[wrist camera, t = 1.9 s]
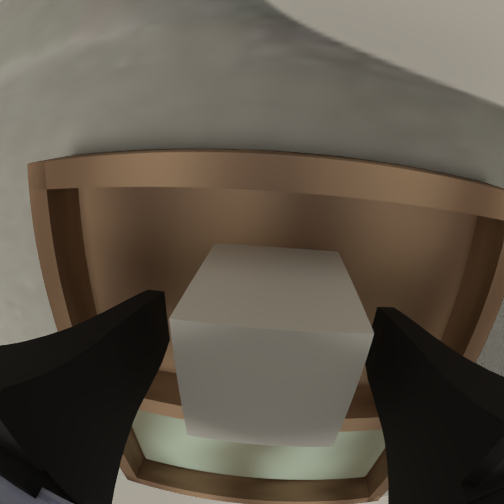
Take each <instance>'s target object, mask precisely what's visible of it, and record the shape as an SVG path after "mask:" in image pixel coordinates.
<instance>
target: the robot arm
mask: <svg viewBox="0 0 504 504" xmlns="http://www.w3.org/2000/svg"><path fill="white" fill-rule="evenodd" d="M372 329H373V332H374V336H373V339H372V343H371V346H370V349H369V352H368V356H367V359H366V362H365V366H366V372H367V378H368V382H369V385H370V389H371V392H372V395H373V399H374V402H375V406H376V409H377V413H378V416H379V420H380V423H381V427H382V431H383V436H384V441H385V449H386V458H387V470H388V492H389V504H504V377H503V376H500V375H498V374H496V373H494V372H491V371H489V370H487V369H485V368H483V367H481V366H479V365H478V364H476V363H474V362H472V361H471V360H469V359H467V358H465V357H464V356H462V355H460V354H459V353H457V352H456V351H454V350H453V349H451V348H450V347H448V346H447V345H445V344H444V343H442V342H441V341H440V340H438V339H437V338H436V337H434V336H433V335H431V334H430V333H429V332H427V331H426V330H425V329H423V328H422V327H421V326H420V325H418V324H417V323H416V322H414V321H413V320H412V319H410V318H409V317H408V316H406V315H405V314H403V313H402V312H400V311H399V310H397V309H396V308H394V307H377V310H376V313H375V317H374V321H373V324H372ZM169 341H170V336H169V328H168V320H167V311H166V302H165V291H156V290H146V291H144V292H141V293H139V294H137V295H135V296H133V297H131V298H129V299H127V300H125V301H124V302H122V303H120V304H118V305H116V306H114V307H112V308H110V309H108V310H106V311H105V312H103V313H100V314H98V315H96V316H94V317H92V318H90V319H88V320H86V321H84V322H82V323H79V324H77V325H75V326H72V327H70V328H67V329H64V330H62V331H59V332H56V333H53V334H50V335H47V336H43V337H39V338H36V339H32V340H28V341H24V342H20V343H14V344H9V345H2V346H0V504H112V499H113V493H114V488H115V483H116V479H117V475H118V471H119V466H120V462H121V459H122V456H123V452H124V449H125V445H126V442H127V439H128V436H129V433H130V430H131V427H132V424H133V421H134V419H135V416H136V414H137V412H138V410H139V408H140V406H141V404H142V402H143V400H144V398H145V396H146V394H147V392H148V390H149V388H150V386H151V384H152V382H153V380H154V378H155V376H156V374H157V372H158V370H159V368H160V366H161V364H162V362H163V359H164V356H165V353H166V350H167V347H168V344H169Z"/></svg>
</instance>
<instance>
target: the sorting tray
mask: <svg viewBox="0 0 504 504" xmlns="http://www.w3.org/2000/svg"><path fill="white" fill-rule="evenodd" d="M28 181H29V193H30V203H31V211H32V219H33V226H34V233H35V239H36V245H37V250H38V256H39V261H40V265H41V270H42V275H43V279H44V283H45V287H46V291H47V295H48V299H49V303H50V306H51V310H52V313H53V317H54V320H55V323H56V327H57V330H58V332H59V331H62V330H64V329H67V328H70V327H72V326H75V325H77V324H79V323H82V322H84V321H86V320H88V319H90V318H92V317H94V316H96V315H98V314H100V313H103V312H105V311H106V310H108V309H110V308H112V307H114V306H116V305H118V304H120V303H122V302H124V301H125V300H127V299H129V298H131V297H133V296H135V295H137V294H139V293H141V292H144V291H146V290H156V291H165V302H166V311H167V320H168V328H169V336H170V341H169V344H168V347H167V350H166V353H165V356H164V359H163V362H162V364H161V366H160V368H159V370H158V372H157V374H156V376H155V378H154V380H153V382H152V384H151V386H150V388H149V390H148V392H147V394H146V396H145V398H144V400H143V402H142V404H141V406H140V408H139V410H138V412H137V414H136V416H135V419H134V421H133V424H132V427H131V430H130V433H129V436H128V439H127V442H126V445H125V449H124V452H123V456H122V459H121V462H120V466H119V467H120V468H121V470H122V472H123V473H124V475H125V476H126V478H127V479H128V480H131V481H134V482H137V483H141V484H144V485H148V486H151V487H155V488H159V489H163V490H167V491H171V492H175V493H180V494H185V495H190V496H195V497H200V498H206V499H212V500H219V501H226V502H234V503H243V504H355V503H364V502H372V501H378V500H379V499H380V498H381V497H382V496H383V494H384V493H385V492H386V491H387V490H388V470H387V458H386V449H385V441H384V436H383V431H382V427H381V423H380V420H379V416H378V413H377V409H376V406H375V402H374V399H373V395H372V392H371V389H370V385H369V382H368V378H367V372H366V366H365V365H364V368H363V371H362V374H361V377H360V379H359V382H358V385H357V388H356V391H355V393H354V396H353V399H352V401H351V404H350V406H349V409H348V412H347V414H346V417H345V419H344V422H343V424H342V426H341V429H340V431H339V433H338V436H337V438H336V440H335V443H334V445H333V447H290V446H270V445H257V444H246V443H237V442H228V441H221V440H213V439H207V438H201V437H195V436H189V435H187V431H186V426H185V421H184V416H183V410H182V405H181V399H180V393H179V387H178V381H177V374H176V368H175V361H174V354H173V346H172V338H171V330H170V322H169V318H170V316H171V314H172V313H173V311H174V309H175V308H176V306H177V304H178V303H179V301H180V299H181V298H182V296H183V294H184V293H185V291H186V290H187V288H188V286H189V285H190V283H191V281H192V280H193V278H194V276H195V275H196V273H197V272H198V270H199V268H200V267H201V265H202V263H203V262H204V260H205V259H206V257H207V255H208V254H209V252H210V251H211V249H212V247H213V246H214V244H215V243H225V244H239V245H254V246H268V247H282V248H296V249H310V250H324V251H337V252H339V254H340V257H341V259H342V261H343V263H344V265H345V267H346V269H347V272H348V274H349V276H350V278H351V280H352V283H353V285H354V287H355V289H356V292H357V294H358V296H359V299H360V301H361V303H362V305H363V308H364V310H365V313H366V315H367V317H368V320H369V322H370V324H371V327H372V324H373V321H374V317H375V313H376V310H377V307H394V308H396V309H397V310H399V311H400V312H402V313H403V314H405V315H406V316H408V317H409V318H410V319H412V320H413V321H414V322H416V323H417V324H418V325H420V326H421V327H422V328H423V329H425V330H426V331H427V332H429V333H430V334H431V335H433V336H434V337H436V338H437V339H438V340H440V341H441V342H442V343H444V344H445V345H447V346H448V347H450V348H451V349H453V350H454V351H456V352H457V353H459V354H460V355H462V356H464V357H465V358H467V359H469V360H471V361H472V362H474V363H476V361H477V359H478V357H479V355H480V353H481V351H482V349H483V347H484V344H485V342H486V340H487V338H488V335H489V333H490V331H491V329H492V326H493V324H494V321H495V319H496V316H497V314H498V311H499V309H500V306H501V303H502V301H503V298H504V189H503V188H500V187H497V186H494V185H491V184H488V183H484V182H480V181H476V180H472V179H468V178H463V177H459V176H455V175H450V174H445V173H441V172H436V171H431V170H425V169H420V168H415V167H409V166H403V165H397V164H391V163H384V162H378V161H371V160H363V159H356V158H348V157H339V156H330V155H320V154H309V153H297V152H283V151H267V150H245V149H153V150H131V151H116V152H102V153H91V154H81V155H72V156H66V157H60V158H54V159H49V160H44V161H39V162H34V163H29V164H28Z"/></svg>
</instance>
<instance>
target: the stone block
mask: <svg viewBox="0 0 504 504" xmlns="http://www.w3.org/2000/svg"><path fill="white" fill-rule="evenodd" d="M169 322H170V330H171V338H172V346H173V354H174V361H175V368H176V374H177V381H178V387H179V393H180V399H181V405H182V410H183V416H184V421H185V426H186V431H187V435H189V436H195V437H201V438H207V439H213V440H221V441H228V442H237V443H246V444H257V445H270V446H290V447H333V445H334V443H335V440H336V438H337V436H338V433H339V431H340V429H341V426H342V424H343V422H344V419H345V417H346V414H347V412H348V409H349V406H350V404H351V401H352V399H353V396H354V393H355V391H356V388H357V385H358V382H359V379H360V377H361V374H362V371H363V368H364V365H365V362H366V359H367V356H368V352H369V349H370V346H371V343H372V339H373V336H374V332H373V329H372V327H371V324H370V322H369V320H368V317H367V315H366V313H365V310H364V308H363V305H362V303H361V301H360V299H359V296H358V294H357V292H356V289H355V287H354V285H353V283H352V280H351V278H350V276H349V274H348V272H347V269H346V267H345V265H344V263H343V261H342V259H341V257H340V254H339V252H337V251H324V250H310V249H296V248H282V247H268V246H254V245H239V244H225V243H215V244H214V246H213V247H212V249H211V251H210V252H209V254H208V255H207V257H206V259H205V260H204V262H203V263H202V265H201V267H200V268H199V270H198V272H197V273H196V275H195V276H194V278H193V280H192V281H191V283H190V285H189V286H188V288H187V290H186V291H185V293H184V294H183V296H182V298H181V299H180V301H179V303H178V304H177V306H176V308H175V309H174V311H173V313H172V314H171V316H170V318H169Z"/></svg>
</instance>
